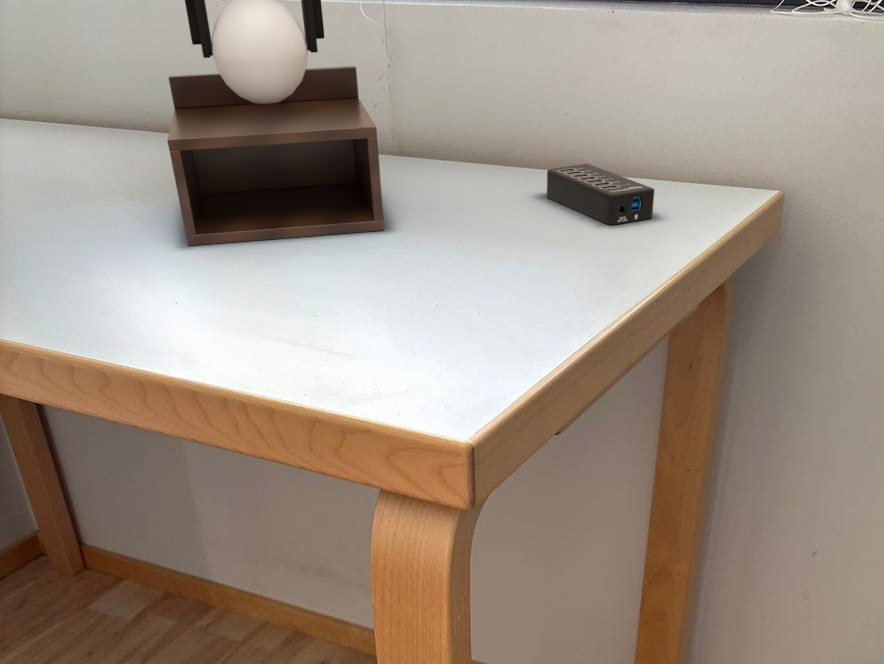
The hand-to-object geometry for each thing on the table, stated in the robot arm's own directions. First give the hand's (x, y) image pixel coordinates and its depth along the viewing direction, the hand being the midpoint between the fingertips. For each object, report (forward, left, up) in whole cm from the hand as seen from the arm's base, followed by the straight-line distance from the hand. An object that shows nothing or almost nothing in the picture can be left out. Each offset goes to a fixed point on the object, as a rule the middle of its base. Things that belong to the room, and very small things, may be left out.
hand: (260, 51), depth 78 cm
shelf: (0, +1, -13) cm, 13 cm away
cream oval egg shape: (0, 0, -4) cm, 4 cm away
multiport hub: (+27, -4, -13) cm, 30 cm away
